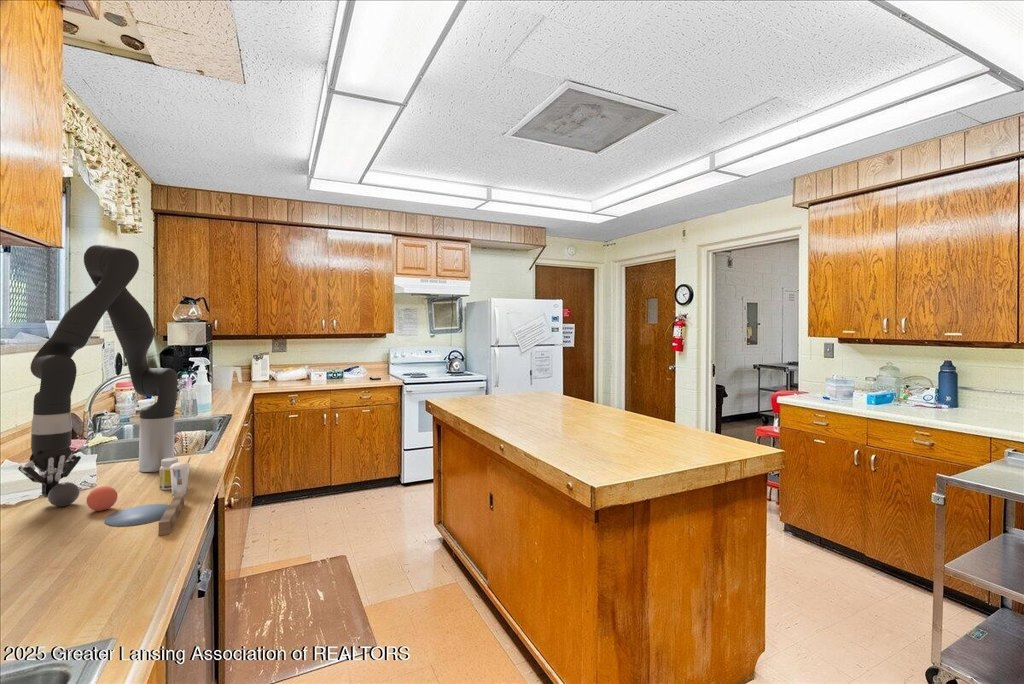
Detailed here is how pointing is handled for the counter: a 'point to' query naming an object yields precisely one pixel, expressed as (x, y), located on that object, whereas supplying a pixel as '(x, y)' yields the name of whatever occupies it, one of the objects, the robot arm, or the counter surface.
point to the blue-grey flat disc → (137, 515)
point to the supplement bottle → (166, 473)
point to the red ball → (102, 498)
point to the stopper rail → (171, 514)
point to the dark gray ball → (63, 494)
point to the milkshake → (179, 477)
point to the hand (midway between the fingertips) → (50, 496)
